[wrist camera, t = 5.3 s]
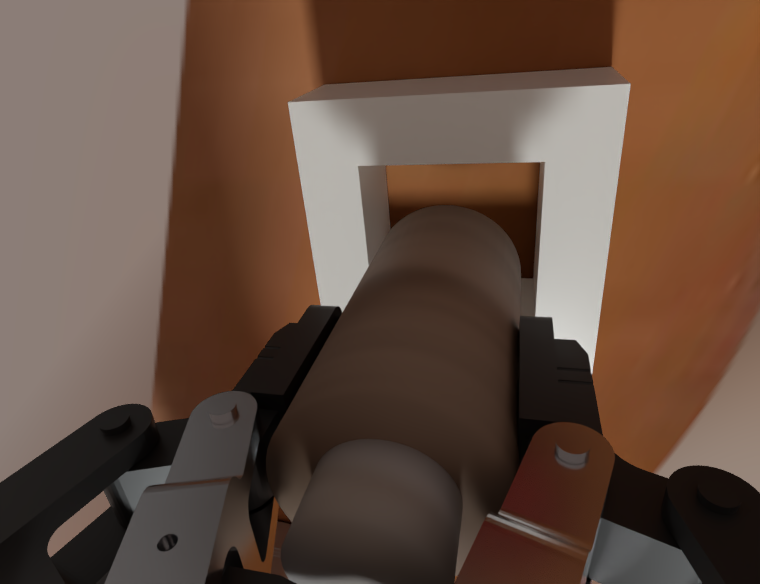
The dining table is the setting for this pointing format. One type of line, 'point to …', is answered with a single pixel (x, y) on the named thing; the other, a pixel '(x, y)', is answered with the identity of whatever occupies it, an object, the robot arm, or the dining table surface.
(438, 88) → the holder
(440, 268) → the pepper mill
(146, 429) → the robot arm
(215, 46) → the dining table surface
